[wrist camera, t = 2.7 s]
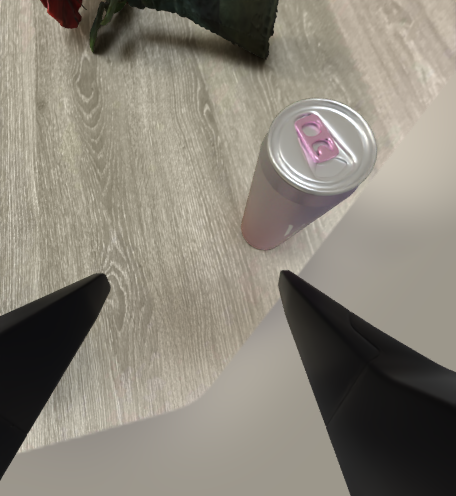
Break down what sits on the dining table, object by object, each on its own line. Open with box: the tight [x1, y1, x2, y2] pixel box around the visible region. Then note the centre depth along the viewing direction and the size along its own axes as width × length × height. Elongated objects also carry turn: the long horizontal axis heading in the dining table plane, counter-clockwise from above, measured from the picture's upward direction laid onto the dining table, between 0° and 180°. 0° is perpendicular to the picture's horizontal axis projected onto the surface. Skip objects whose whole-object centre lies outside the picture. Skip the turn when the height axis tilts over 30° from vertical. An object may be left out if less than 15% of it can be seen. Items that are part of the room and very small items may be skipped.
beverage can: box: [241, 98, 377, 250], centre depth 16 cm, size 6×6×15 cm
